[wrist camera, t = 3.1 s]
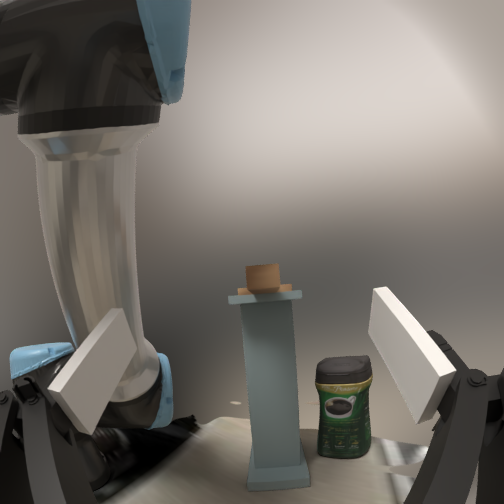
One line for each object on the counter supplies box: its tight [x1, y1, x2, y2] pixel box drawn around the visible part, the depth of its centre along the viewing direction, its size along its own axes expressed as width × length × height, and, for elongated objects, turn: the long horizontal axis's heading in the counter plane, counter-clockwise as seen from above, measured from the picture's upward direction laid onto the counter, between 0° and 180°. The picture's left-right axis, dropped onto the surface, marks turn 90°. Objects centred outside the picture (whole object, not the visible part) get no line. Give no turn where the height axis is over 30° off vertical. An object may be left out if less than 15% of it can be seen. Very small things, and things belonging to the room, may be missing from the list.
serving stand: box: [228, 290, 310, 491], centre depth 38 cm, size 9×16×30 cm, turn 177°
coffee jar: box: [315, 355, 373, 458], centre depth 38 cm, size 10×8×19 cm
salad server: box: [238, 264, 292, 295], centre depth 36 cm, size 8×26×2 cm, turn 177°
